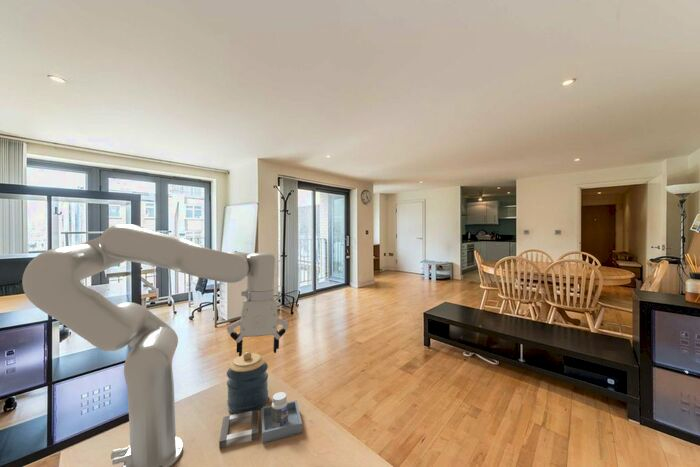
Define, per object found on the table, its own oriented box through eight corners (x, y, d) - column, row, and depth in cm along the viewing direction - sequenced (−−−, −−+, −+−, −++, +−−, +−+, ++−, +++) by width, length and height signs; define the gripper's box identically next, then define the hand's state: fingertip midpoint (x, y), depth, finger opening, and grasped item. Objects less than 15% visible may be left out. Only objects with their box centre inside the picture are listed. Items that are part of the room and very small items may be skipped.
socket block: (219, 448, 74) (219, 441, 74) (223, 423, 83) (223, 416, 83) (258, 439, 77) (258, 432, 77) (258, 415, 87) (258, 409, 87)
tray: (262, 443, 76) (262, 432, 75) (261, 417, 86) (261, 407, 86) (302, 433, 79) (302, 423, 79) (296, 409, 90) (296, 400, 89)
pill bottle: (283, 430, 80) (283, 401, 79) (269, 427, 81) (268, 399, 80) (290, 418, 84) (290, 391, 84) (276, 416, 85) (275, 390, 85)
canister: (218, 408, 90) (217, 355, 90) (250, 387, 102) (249, 340, 101) (245, 422, 84) (244, 365, 83) (276, 398, 95) (275, 348, 95)
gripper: (226, 299, 74) (224, 362, 74) (291, 297, 80) (289, 355, 80) (229, 292, 81) (227, 350, 82) (288, 291, 87) (286, 345, 87)
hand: (257, 352), depth 81 cm, fingers open, 9 cm apart
